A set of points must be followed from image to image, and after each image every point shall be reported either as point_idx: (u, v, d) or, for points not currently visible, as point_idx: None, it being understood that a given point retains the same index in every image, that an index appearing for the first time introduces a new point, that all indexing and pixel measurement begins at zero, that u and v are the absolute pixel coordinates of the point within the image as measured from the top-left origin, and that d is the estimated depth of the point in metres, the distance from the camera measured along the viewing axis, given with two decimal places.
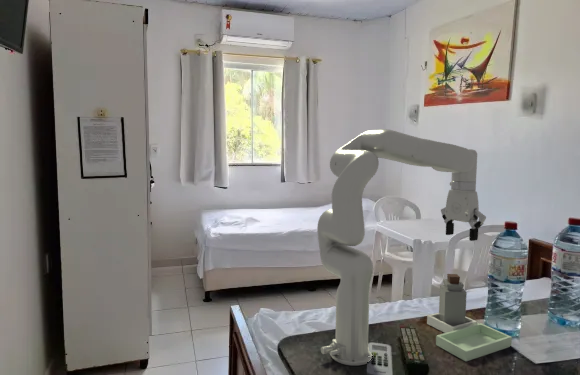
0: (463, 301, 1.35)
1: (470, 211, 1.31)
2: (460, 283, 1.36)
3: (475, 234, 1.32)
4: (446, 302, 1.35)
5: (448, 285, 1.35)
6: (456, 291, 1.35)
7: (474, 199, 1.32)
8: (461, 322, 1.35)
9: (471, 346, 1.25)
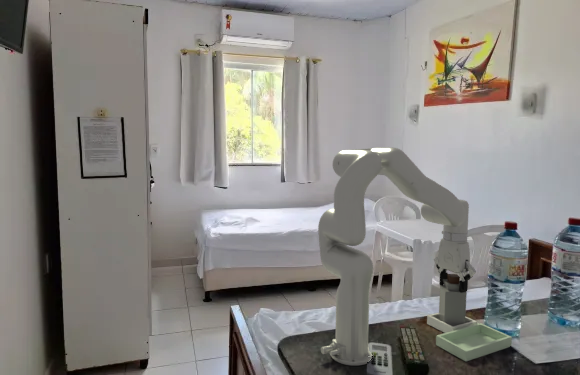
0: (463, 301, 1.35)
1: (461, 263, 1.32)
2: None
3: (465, 287, 1.33)
4: (446, 302, 1.35)
5: (448, 285, 1.35)
6: (456, 291, 1.35)
7: (465, 250, 1.32)
8: (461, 322, 1.35)
9: (471, 346, 1.25)
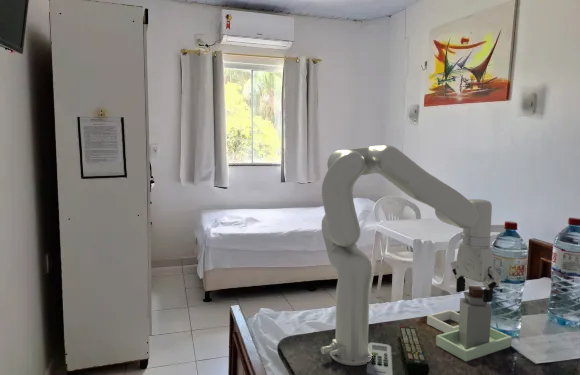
0: (487, 317, 1.21)
1: (484, 270, 1.18)
2: None
3: (489, 296, 1.19)
4: (469, 318, 1.22)
5: (471, 299, 1.22)
6: (480, 306, 1.22)
7: (489, 256, 1.18)
8: (485, 340, 1.22)
9: None
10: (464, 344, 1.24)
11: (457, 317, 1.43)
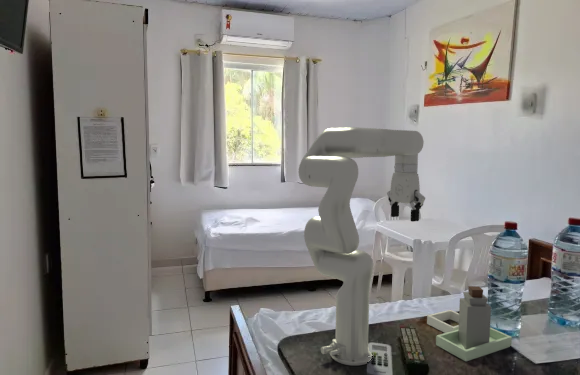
0: (487, 317, 1.21)
1: (411, 192, 1.35)
2: (483, 297, 1.23)
3: (416, 215, 1.36)
4: (468, 318, 1.22)
5: (470, 299, 1.22)
6: (479, 306, 1.22)
7: (415, 181, 1.35)
8: (485, 340, 1.22)
9: None
10: (464, 344, 1.24)
11: (457, 317, 1.43)
